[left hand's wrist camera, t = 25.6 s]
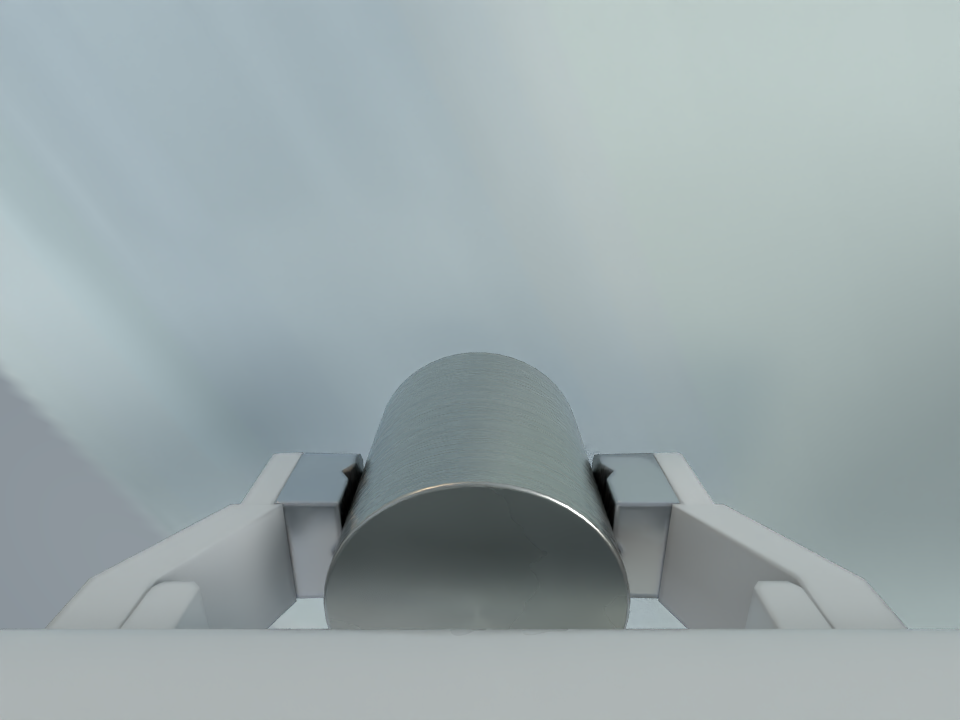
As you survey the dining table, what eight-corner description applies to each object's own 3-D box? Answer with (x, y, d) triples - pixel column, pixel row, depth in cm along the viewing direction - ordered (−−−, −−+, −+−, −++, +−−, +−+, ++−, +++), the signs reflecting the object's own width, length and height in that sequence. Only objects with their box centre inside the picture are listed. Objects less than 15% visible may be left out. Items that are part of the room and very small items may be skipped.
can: (355, 373, 11) (280, 514, 7) (560, 332, 11) (612, 455, 7) (406, 539, 13) (370, 739, 9) (589, 508, 13) (645, 700, 8)
